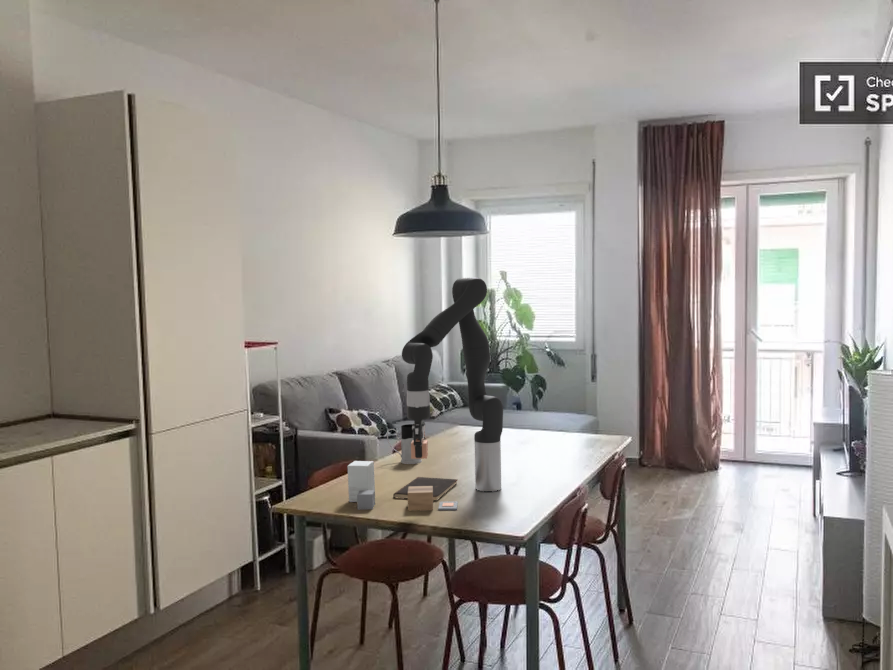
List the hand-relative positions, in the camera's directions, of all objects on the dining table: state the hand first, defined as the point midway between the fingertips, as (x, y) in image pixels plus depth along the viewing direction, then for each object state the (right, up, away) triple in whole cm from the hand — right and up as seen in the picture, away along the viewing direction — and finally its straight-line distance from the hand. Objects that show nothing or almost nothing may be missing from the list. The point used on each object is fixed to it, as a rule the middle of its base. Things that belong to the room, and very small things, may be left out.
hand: (419, 455), depth 248 cm
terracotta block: (0, 0, 0) cm, 0 cm away
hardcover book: (+2, -17, +21) cm, 27 cm away
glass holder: (-9, -13, +67) cm, 69 cm away
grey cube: (-18, -17, +2) cm, 25 cm away
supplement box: (-20, -17, +11) cm, 29 cm away
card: (+9, -17, 0) cm, 19 cm away
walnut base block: (0, -17, +1) cm, 17 cm away
